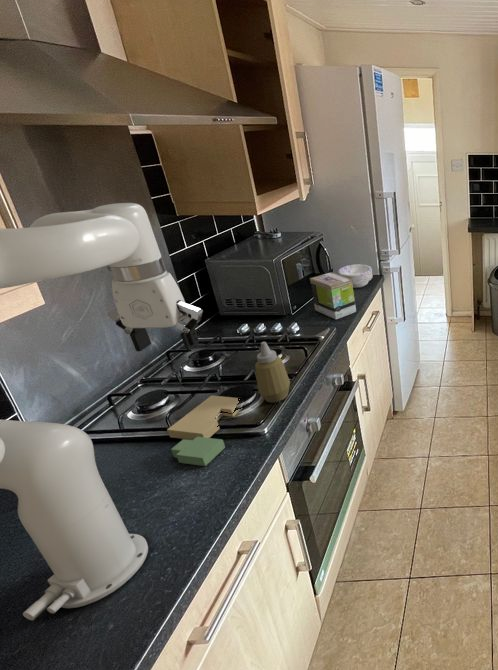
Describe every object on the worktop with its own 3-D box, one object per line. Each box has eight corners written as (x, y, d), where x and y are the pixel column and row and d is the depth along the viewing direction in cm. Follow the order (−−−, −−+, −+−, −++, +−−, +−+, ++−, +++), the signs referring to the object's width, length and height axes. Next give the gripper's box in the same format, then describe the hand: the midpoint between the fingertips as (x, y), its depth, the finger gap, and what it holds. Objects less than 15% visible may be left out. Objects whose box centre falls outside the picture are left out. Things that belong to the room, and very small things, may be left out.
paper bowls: (371, 289, 195) (369, 273, 192) (337, 291, 192) (334, 275, 189) (375, 277, 208) (373, 263, 205) (343, 279, 206) (341, 264, 203)
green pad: (205, 466, 96) (202, 458, 95) (169, 461, 98) (165, 453, 97) (225, 447, 102) (222, 439, 101) (190, 443, 103) (187, 435, 102)
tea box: (357, 311, 172) (352, 278, 167) (335, 320, 165) (329, 286, 159) (336, 302, 181) (330, 271, 175) (314, 310, 173) (308, 277, 167)
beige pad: (205, 441, 104) (202, 433, 103) (169, 437, 105) (166, 429, 104) (245, 405, 116) (243, 398, 115) (214, 402, 118) (211, 395, 117)
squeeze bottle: (279, 407, 116) (265, 352, 109) (254, 403, 117) (238, 348, 110) (298, 390, 123) (286, 337, 116) (274, 386, 125) (261, 334, 118)
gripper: (73, 277, 75) (109, 358, 82) (173, 276, 76) (200, 356, 82) (108, 263, 82) (139, 339, 88) (199, 262, 83) (222, 337, 89)
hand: (168, 347), depth 85 cm, fingers open, 9 cm apart
